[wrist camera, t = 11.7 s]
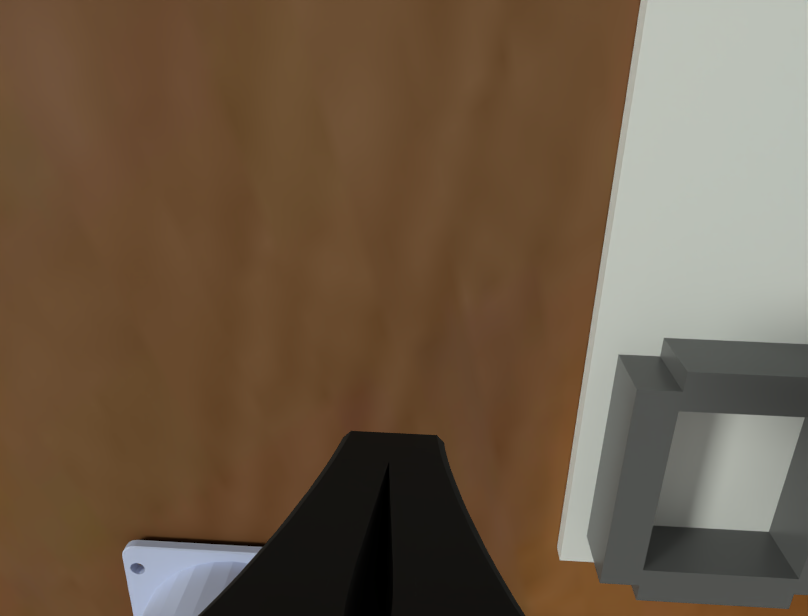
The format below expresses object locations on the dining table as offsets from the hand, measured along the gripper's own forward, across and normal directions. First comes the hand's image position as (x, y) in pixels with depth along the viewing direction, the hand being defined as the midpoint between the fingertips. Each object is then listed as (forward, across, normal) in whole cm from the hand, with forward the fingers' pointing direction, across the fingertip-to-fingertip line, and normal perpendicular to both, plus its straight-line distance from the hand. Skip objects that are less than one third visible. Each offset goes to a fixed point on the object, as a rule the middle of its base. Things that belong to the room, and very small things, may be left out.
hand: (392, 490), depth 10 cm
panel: (+10, -12, +2) cm, 16 cm away
